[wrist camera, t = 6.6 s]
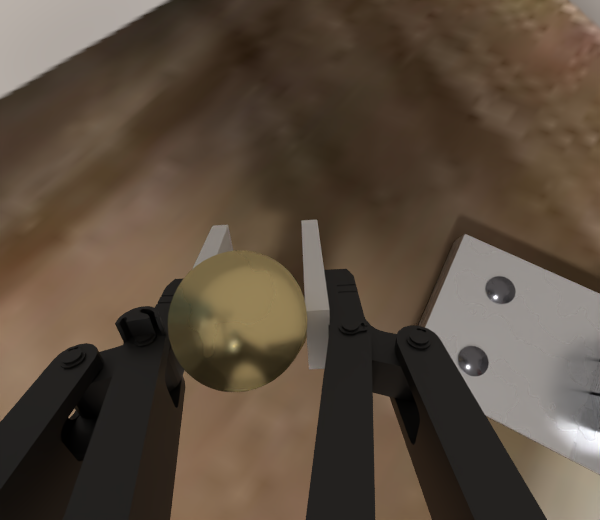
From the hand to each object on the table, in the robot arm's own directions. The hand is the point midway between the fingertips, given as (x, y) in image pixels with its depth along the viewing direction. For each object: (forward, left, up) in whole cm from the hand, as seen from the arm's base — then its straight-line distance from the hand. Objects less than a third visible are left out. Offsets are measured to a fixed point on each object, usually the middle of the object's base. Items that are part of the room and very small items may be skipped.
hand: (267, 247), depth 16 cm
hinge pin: (+2, -3, -4) cm, 5 cm away
